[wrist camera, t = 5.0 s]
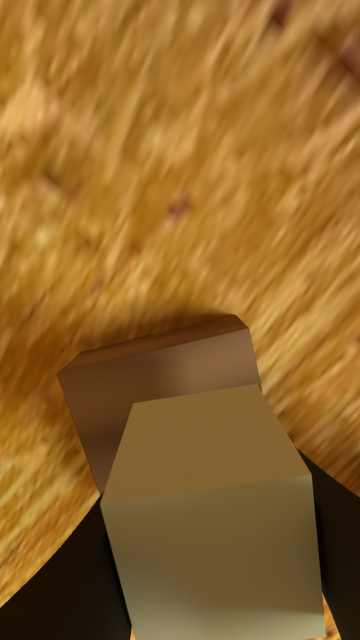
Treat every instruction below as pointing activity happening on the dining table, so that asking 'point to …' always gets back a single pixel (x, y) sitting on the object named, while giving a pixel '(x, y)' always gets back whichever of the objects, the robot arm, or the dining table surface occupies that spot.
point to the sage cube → (214, 522)
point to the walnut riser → (151, 379)
